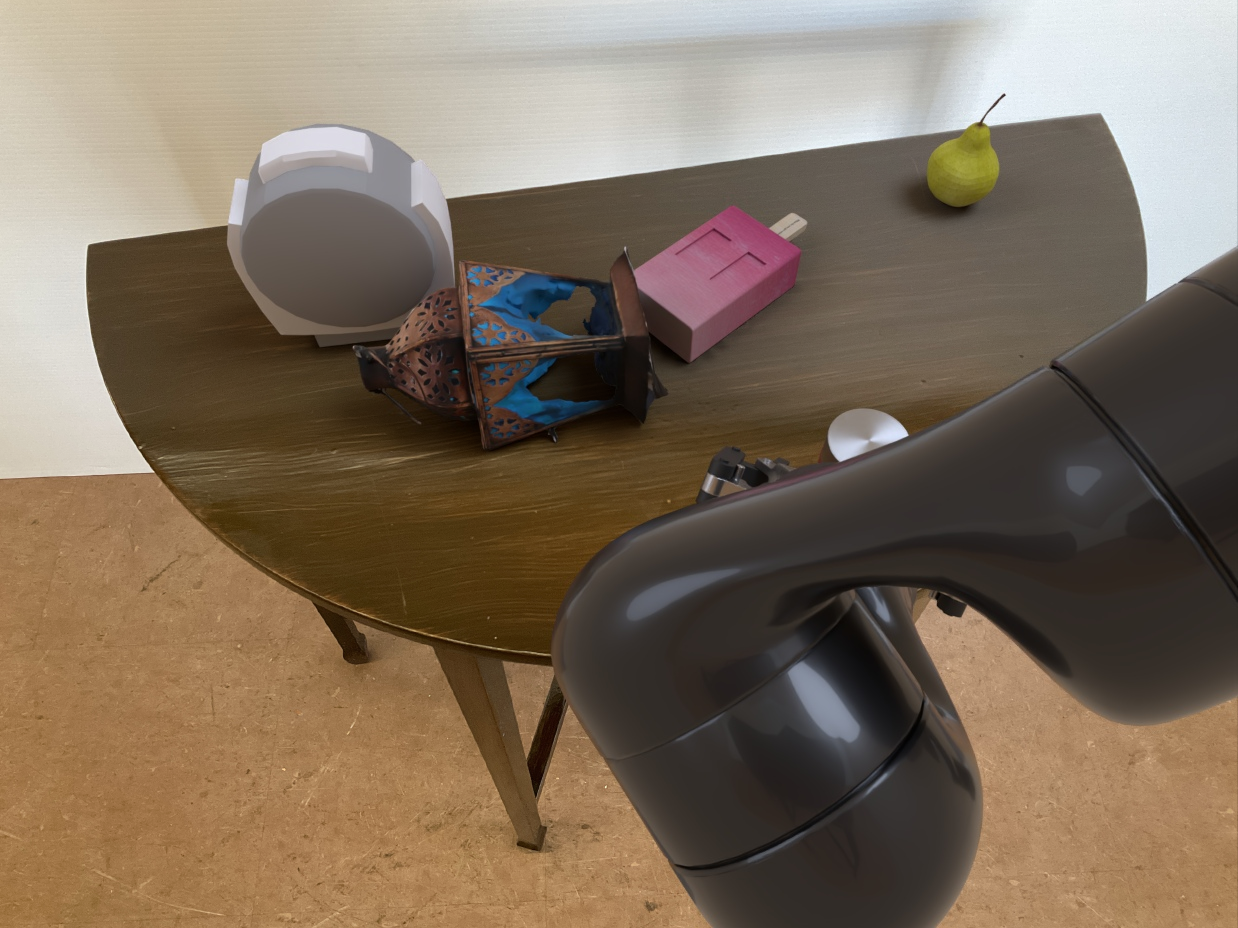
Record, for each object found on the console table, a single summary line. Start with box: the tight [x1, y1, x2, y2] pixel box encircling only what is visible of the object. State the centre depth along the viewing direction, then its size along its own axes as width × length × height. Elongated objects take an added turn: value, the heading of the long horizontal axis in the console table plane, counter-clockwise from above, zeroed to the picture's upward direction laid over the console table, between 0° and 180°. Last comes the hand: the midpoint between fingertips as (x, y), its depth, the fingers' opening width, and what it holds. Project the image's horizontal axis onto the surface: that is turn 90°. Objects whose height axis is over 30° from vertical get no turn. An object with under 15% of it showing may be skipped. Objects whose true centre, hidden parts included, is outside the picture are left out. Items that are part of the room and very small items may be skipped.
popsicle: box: [633, 205, 808, 364], centre depth 83 cm, size 9×5×20 cm
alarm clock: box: [226, 123, 456, 348], centre depth 75 cm, size 18×8×20 cm, turn 98°
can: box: [816, 407, 910, 463], centre depth 66 cm, size 6×6×10 cm
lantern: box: [352, 246, 669, 452], centre depth 73 cm, size 16×16×25 cm
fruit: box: [926, 92, 1007, 208], centre depth 86 cm, size 7×7×12 cm
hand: (845, 502), depth 51 cm, fingers open, 8 cm apart
